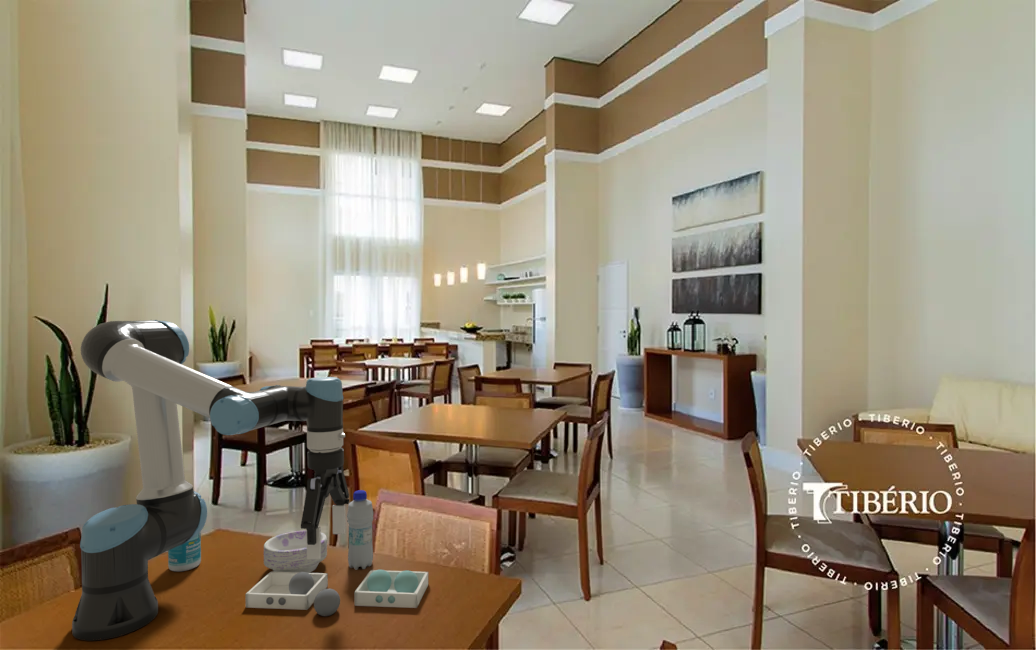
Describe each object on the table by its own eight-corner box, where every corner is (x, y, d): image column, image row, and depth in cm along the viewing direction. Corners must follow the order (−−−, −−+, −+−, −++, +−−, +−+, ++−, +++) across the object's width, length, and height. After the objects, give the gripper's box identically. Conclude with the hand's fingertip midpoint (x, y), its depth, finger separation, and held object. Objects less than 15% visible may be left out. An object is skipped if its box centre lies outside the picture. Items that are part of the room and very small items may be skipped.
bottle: (366, 573, 147) (366, 495, 147) (342, 571, 148) (341, 493, 148) (378, 562, 154) (377, 487, 153) (355, 560, 155) (354, 485, 155)
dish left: (245, 610, 129) (244, 594, 129) (270, 585, 141) (270, 571, 140) (306, 612, 128) (306, 596, 128) (327, 587, 139) (327, 573, 139)
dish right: (354, 608, 130) (354, 592, 130) (370, 584, 141) (370, 570, 141) (416, 610, 129) (416, 594, 129) (428, 586, 140) (428, 571, 140)
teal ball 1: (363, 599, 133) (363, 575, 133) (371, 587, 138) (371, 565, 138) (387, 600, 132) (387, 576, 132) (394, 588, 138) (394, 565, 138)
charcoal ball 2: (309, 620, 124) (309, 595, 124) (320, 607, 130) (319, 583, 130) (334, 621, 124) (334, 596, 124) (344, 608, 130) (343, 584, 129)
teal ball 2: (391, 600, 132) (391, 576, 132) (398, 588, 138) (397, 565, 138) (415, 601, 132) (414, 577, 132) (420, 589, 137) (420, 566, 137)
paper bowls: (304, 553, 160) (304, 524, 160) (339, 567, 151) (339, 536, 151) (251, 573, 148) (251, 542, 147) (286, 589, 139) (285, 556, 138)
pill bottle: (190, 572, 148) (189, 520, 147) (161, 572, 148) (161, 520, 148) (206, 560, 155) (206, 510, 155) (179, 560, 155) (178, 510, 155)
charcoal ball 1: (284, 602, 132) (284, 578, 131) (295, 590, 137) (295, 567, 137) (307, 602, 131) (307, 578, 131) (318, 591, 137) (317, 568, 137)
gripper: (318, 463, 114) (320, 571, 114) (362, 436, 138) (363, 524, 139) (281, 463, 114) (283, 570, 115) (331, 436, 139) (333, 524, 139)
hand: (327, 545), depth 127 cm, fingers open, 13 cm apart
